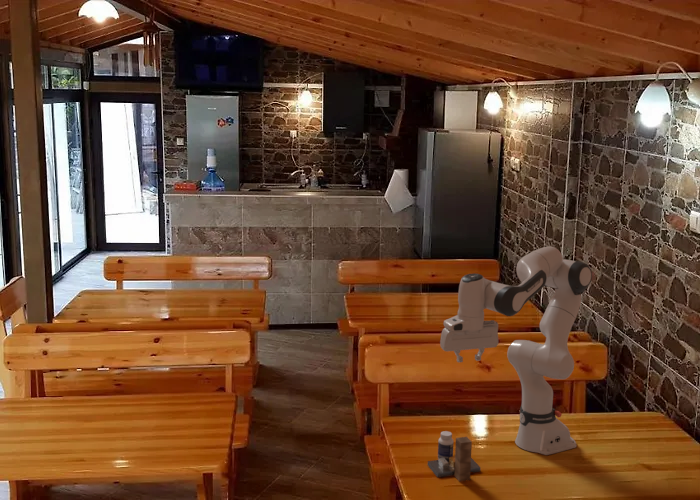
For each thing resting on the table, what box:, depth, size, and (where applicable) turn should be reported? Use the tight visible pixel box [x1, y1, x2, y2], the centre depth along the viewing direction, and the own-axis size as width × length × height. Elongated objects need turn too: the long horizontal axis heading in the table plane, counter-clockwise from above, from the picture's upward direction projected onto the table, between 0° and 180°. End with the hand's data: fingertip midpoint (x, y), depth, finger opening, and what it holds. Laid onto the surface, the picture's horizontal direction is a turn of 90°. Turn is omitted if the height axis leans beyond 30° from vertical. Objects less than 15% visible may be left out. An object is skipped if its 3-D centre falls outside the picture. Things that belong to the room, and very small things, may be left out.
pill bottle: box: [437, 430, 454, 460], centre depth 271 cm, size 5×5×10 cm
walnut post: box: [453, 436, 473, 482], centre depth 257 cm, size 4×4×14 cm
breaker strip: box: [427, 455, 482, 478], centre depth 265 cm, size 16×9×4 cm, turn 106°
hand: (468, 360), depth 259 cm, fingers open, 5 cm apart
